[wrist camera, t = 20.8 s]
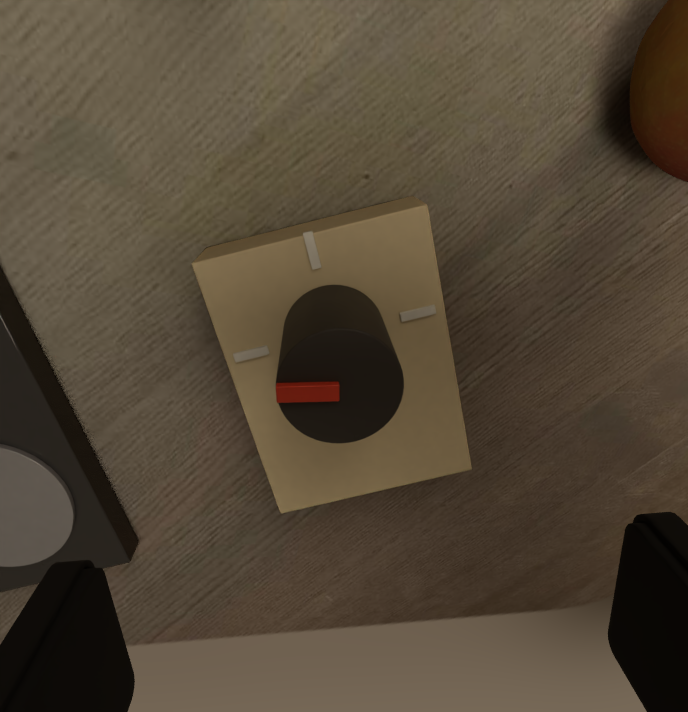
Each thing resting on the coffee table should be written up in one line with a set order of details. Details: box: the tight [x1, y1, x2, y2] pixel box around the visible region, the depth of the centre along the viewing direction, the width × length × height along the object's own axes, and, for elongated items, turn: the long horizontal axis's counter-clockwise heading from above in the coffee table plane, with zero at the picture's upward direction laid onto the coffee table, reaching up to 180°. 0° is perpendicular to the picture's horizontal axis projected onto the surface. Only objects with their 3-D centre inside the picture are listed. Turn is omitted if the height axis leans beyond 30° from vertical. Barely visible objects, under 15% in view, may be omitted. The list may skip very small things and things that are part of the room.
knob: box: [276, 285, 404, 444], centre depth 19 cm, size 4×4×5 cm
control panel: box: [192, 196, 472, 513], centre depth 23 cm, size 12×9×3 cm
